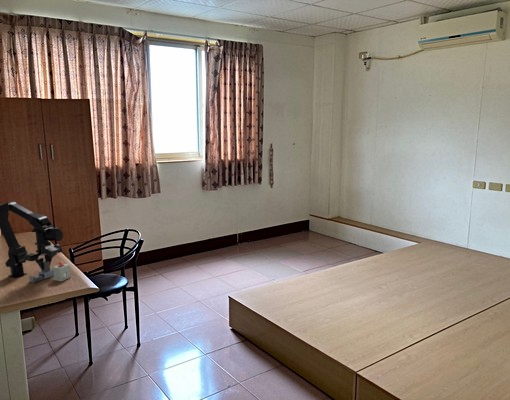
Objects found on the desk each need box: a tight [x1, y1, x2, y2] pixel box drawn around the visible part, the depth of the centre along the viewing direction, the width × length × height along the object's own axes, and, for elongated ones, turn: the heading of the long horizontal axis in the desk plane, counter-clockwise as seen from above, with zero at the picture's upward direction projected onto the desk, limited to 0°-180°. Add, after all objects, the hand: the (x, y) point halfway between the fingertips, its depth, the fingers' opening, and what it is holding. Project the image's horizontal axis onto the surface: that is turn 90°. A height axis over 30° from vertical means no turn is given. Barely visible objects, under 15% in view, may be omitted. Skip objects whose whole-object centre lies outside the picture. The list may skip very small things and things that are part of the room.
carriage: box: [37, 260, 54, 280], centre depth 227 cm, size 5×5×8 cm
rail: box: [28, 268, 53, 284], centre depth 226 cm, size 3×13×3 cm, turn 153°
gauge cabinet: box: [52, 263, 72, 282], centre depth 224 cm, size 6×6×7 cm
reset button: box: [58, 261, 64, 267], centre depth 223 cm, size 2×2×4 cm
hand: (45, 269), depth 227 cm, fingers closed on carriage, 3 cm apart
